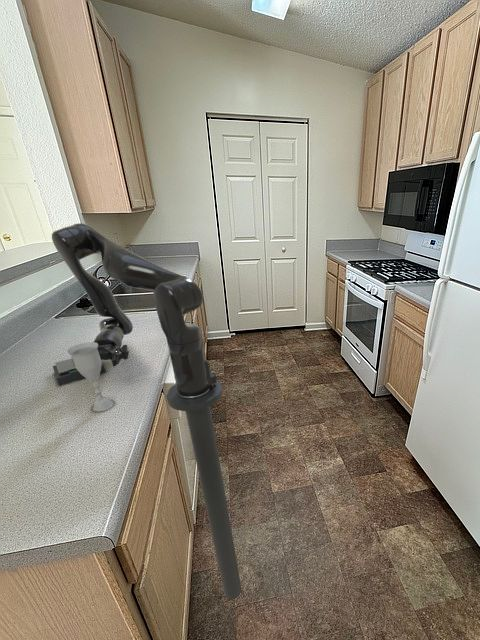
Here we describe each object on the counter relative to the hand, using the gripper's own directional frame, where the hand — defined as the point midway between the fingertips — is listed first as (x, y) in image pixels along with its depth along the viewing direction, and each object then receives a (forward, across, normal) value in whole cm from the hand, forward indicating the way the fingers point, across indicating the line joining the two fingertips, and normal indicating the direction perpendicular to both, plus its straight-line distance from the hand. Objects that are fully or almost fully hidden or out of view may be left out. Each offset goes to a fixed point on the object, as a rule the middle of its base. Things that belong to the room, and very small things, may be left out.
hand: (96, 366), depth 93 cm
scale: (-19, -11, +10) cm, 24 cm away
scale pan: (-20, -12, +7) cm, 24 cm away
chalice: (+5, 0, +10) cm, 12 cm away
